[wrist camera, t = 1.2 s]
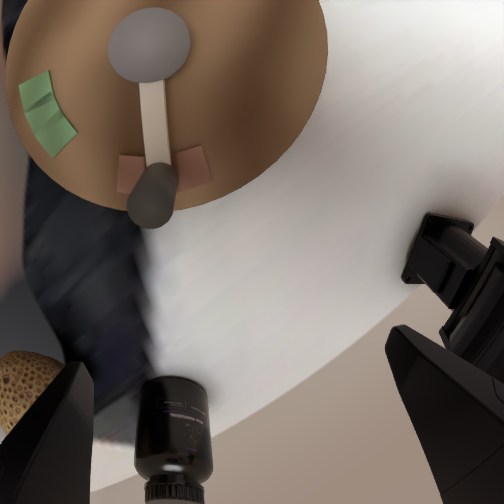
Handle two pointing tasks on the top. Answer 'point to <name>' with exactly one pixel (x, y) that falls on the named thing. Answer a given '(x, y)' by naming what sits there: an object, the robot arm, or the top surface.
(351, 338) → the top surface
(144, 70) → the multicoloured piece
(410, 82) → the top surface
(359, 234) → the top surface
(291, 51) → the round wooden board
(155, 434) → the supplement bottle
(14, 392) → the natural sponge
